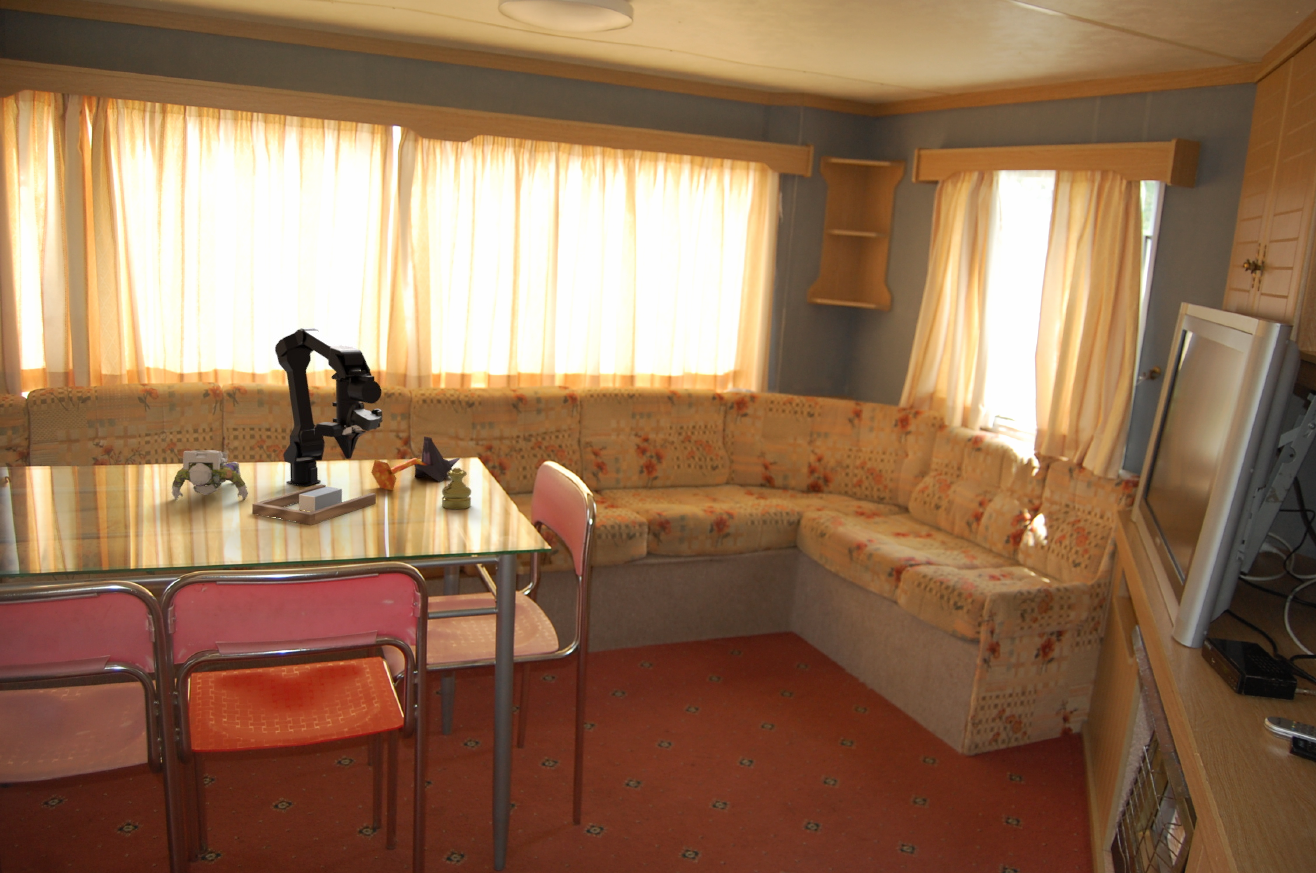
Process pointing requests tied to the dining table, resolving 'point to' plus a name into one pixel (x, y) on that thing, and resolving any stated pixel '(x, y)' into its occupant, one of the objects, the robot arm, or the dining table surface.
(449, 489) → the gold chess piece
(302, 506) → the long block
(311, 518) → the rail pen
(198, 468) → the toy
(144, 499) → the dining table surface
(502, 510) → the dining table surface
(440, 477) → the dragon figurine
